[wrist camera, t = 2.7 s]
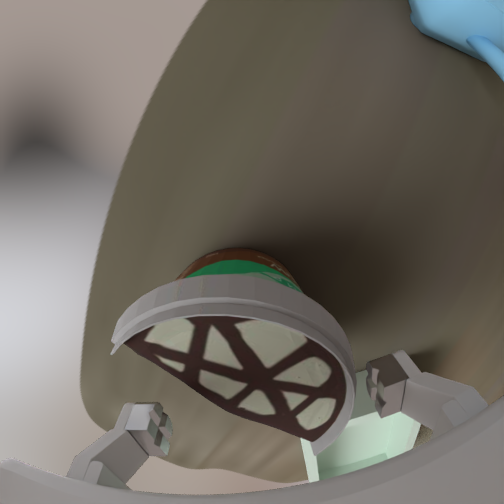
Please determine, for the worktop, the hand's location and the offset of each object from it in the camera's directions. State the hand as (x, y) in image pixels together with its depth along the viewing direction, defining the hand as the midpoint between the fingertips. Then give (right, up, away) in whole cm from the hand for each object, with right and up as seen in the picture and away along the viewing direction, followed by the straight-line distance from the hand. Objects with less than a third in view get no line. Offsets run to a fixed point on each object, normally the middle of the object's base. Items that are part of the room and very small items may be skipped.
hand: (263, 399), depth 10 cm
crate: (+10, -13, +15) cm, 22 cm away
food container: (0, +3, +10) cm, 11 cm away
